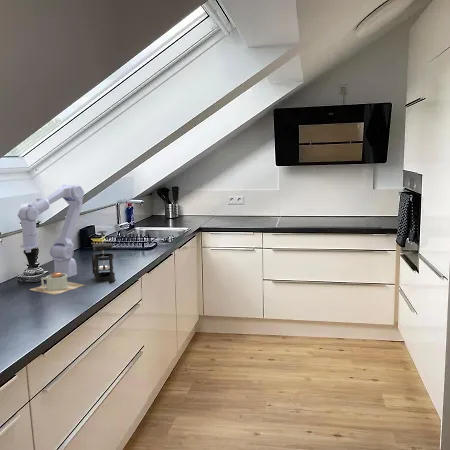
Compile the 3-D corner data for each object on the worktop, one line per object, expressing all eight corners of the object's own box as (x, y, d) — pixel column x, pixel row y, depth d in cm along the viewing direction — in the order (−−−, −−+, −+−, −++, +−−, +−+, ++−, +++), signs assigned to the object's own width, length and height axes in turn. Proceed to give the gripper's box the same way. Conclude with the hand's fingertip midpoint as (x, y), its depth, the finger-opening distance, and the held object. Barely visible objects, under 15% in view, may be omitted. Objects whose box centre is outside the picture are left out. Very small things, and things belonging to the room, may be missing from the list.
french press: (121, 280, 214) (118, 230, 210) (106, 285, 205) (103, 233, 202) (101, 277, 219) (99, 228, 216) (86, 282, 211) (83, 231, 208)
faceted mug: (68, 283, 206) (67, 272, 205) (68, 288, 198) (67, 277, 197) (42, 286, 202) (41, 274, 202) (41, 291, 194) (40, 279, 193)
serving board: (60, 282, 211) (60, 280, 211) (85, 287, 203) (85, 285, 203) (29, 291, 198) (29, 289, 198) (54, 297, 190) (54, 294, 189)
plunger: (64, 283, 204) (63, 271, 203) (64, 287, 198) (63, 274, 198) (50, 285, 202) (49, 272, 201) (50, 288, 197) (49, 275, 196)
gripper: (22, 232, 208) (25, 262, 210) (16, 238, 194) (19, 270, 196) (39, 231, 210) (41, 261, 212) (34, 237, 196) (37, 269, 198)
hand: (32, 265), depth 204 cm, fingers closed
